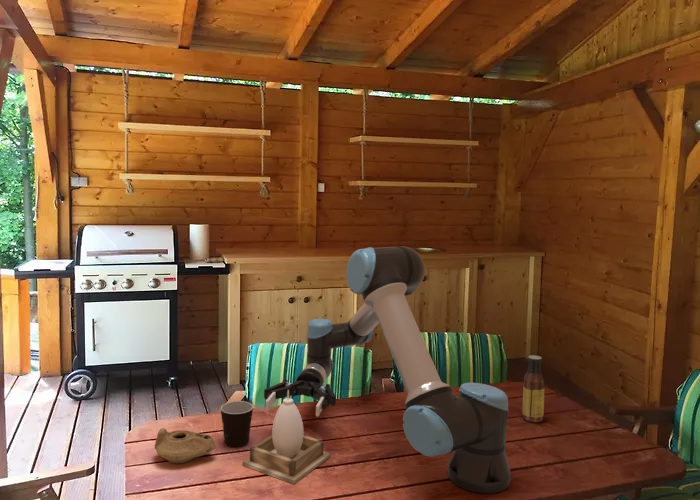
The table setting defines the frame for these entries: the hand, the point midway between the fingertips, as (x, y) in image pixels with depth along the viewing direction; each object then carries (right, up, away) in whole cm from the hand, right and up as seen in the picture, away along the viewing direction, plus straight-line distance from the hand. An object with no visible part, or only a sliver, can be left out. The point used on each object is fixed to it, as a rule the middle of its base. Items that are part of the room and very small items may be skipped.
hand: (291, 408), depth 150 cm
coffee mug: (-15, -11, +8) cm, 21 cm away
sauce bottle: (+72, -11, +28) cm, 77 cm away
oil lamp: (-27, -12, -3) cm, 30 cm away
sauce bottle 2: (-1, -12, -3) cm, 12 cm away
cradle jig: (-1, -13, -3) cm, 13 cm away
